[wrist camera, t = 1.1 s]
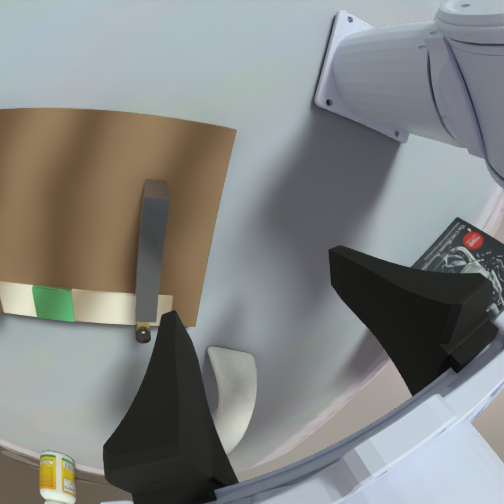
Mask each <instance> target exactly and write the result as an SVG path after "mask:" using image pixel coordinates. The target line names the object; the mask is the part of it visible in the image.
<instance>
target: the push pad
mask: <svg viewBox="0 0 504 504" xmlns="http://www.w3.org/2000/svg"><path fill="white" fill-rule="evenodd" d="M170 201H171V198H170V194H169V190H168V185H167V181H161V180H152V179H145V186H144V193H143V201H142V209H141V217H140V227H139V237H138V248H137V261H136V277H135V322H137V323H136V325H135V327H136V340H137V341H138V342H139V343H148V342H149V341H150V340H151V335H150V322H154V323H156V320H157V307H158V296H159V286H160V276H161V267H162V258H163V250H164V242H165V235H166V228H167V221H168V214H169V208H170Z"/></svg>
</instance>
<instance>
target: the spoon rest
mask: <svg viewBox="0 0 504 504" xmlns="http://www.w3.org/2000/svg"><path fill="white" fill-rule="evenodd" d="M207 352H208V355H209V358H210V361H211V364H212V367H213V370H214V373H215V377H216V381H217V386H218V395H219V399H218V409H217V414H216V417H215V420H214V425H215V428H216V430H217V433H218V436H219V438H220V441H221V443H222V446H223V448H224V450H225V453H226V454H228V453H229V452H230V451H231V450H232V449H233V448H234V447H235V446H236V445H237V444H238V443H239V442H240V440H241V439H242V437H243V435H244V433H245V431H246V429H247V427H248V424H249V422H250V419H251V416H252V413H253V409H254V405H255V400H256V393H257V369H256V364H255V360H254V357H253V356H252V355H251V354H249V353H246V352H241V351H235V350H231V349H226V348H221V347H209V348H208V349H207Z"/></svg>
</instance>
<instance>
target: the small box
mask: <svg viewBox="0 0 504 504" xmlns="http://www.w3.org/2000/svg"><path fill="white" fill-rule="evenodd" d="M411 268H415V269H420V270H426V271H434V272H443V273H481V274H482V275H484V276H485V277H486V278H488V279H489V280H490V281H492V282H493V293H492V296H491V299H490V302H489V304H488V307H487V310H486V312H487V313H488V314H489V315H490V319H489V320H490V321H491V322H492V323H493V322H494V320H495V319H496V318H497V317H498V315H499V314H500V313H501V312H502V311H503V310H504V244H503V243H501V242H499V241H498V240H496V239H495V238H493V237H491V236H490V235H488V234H486V233H485V232H483V231H481V230H479V229H478V228H476V227H474V226H473V225H471V224H469V223H467V222H466V221H464V220H462V219H460V218H459V217H457V218H456V219H455V220H454V222H453V223H452V224H451V225H450V226H449V227H448V228H447V230H446V231H445V232H444V233H443V234H442V235H441V236H440V237H439V239H438V240H437V241H436V242H435V243H434V244H433V245H432V246H431V247H430V248H429V249H428V250H427V251H426V253H425V254H424V255H423V256H422V257H421V258H420V259H419V260H418V261H417V262H416V263H415V264H414V265H413V266H412V267H411Z"/></svg>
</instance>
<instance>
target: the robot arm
mask: <svg viewBox="0 0 504 504" xmlns="http://www.w3.org/2000/svg"><path fill="white" fill-rule="evenodd" d="M347 18H349V19H350V22H349V21H348V20H347ZM434 20H435V21H424V22H414V23H405V24H397V25H390V26H383V27H377V28H373V27H372V26H370V25H368V24H367V23H365V22H363V21H362V20H360V19H358V18H357V17H355V16H353V15H351V14H349V13H348V12H346V11H339V12H337V14H336V17H335V21H334V25H333V29H332V33H331V37H330V41H329V45H328V49H327V53H326V57H325V61H324V65H323V68H322V72H321V76H320V80H319V84H318V87H317V91H316V95H315V104H316V105H317V106H318V107H321V108H323V109H326V110H329V111H331V112H334V113H336V114H339V115H341V116H344V117H346V118H349V119H351V120H353V121H356V122H358V123H360V124H362V125H365V126H367V127H369V128H371V129H374V130H376V131H378V132H380V133H382V134H384V135H386V136H388V137H390V138H393V139H395V140H397V141H399V142H401V143H406V142H407V140H408V136H409V133H410V134H414V135H418V136H422V137H426V138H429V139H433V140H436V141H440V142H443V143H446V144H450V145H453V146H456V147H460V148H467V149H468V152H469V154H471V155H474V156H477V157H480V158H483V159H485V161H486V165H487V168H488V171H489V172H490V174H491V176H492V178H493V179H494V180H495V181H496V183H498V184H499V185H500V186H501V187H502V188H503V189H504V0H445V1H444V2H443V3H442V4H441V5H440V7H439V10H438V12H437V13H436V15H435V18H434ZM327 100H329V102H330V104H329V105H328V106H327V104H326V101H327ZM395 131H396V134H395ZM329 262H330V275H331V285H332V286H333V288H334V289H335V291H336V292H337V294H338V295H339V296H340V298H341V299H342V300H343V302H344V303H345V304H346V305H347V306H348V307H349V308H350V309H351V310H352V311H353V312H354V313H355V315H356V316H357V317H358V318H359V319H360V320H361V321H362V322H363V323H364V324H365V325H366V326H367V327H368V328H369V329H370V331H371V332H372V333H373V334H374V335H375V337H376V338H377V339H378V341H379V342H380V344H381V345H382V346H383V348H384V349H385V351H386V352H387V354H388V355H389V357H390V358H391V360H392V361H393V363H394V364H395V366H396V368H397V369H398V371H399V373H400V374H401V376H402V378H403V379H404V381H405V383H406V385H407V387H408V389H409V391H410V393H411V394H412V397H411V398H410V399H409V400H407V401H406V402H404V403H403V404H401V405H400V406H399V407H397V408H395V409H394V410H392V411H391V412H389V413H388V414H386V415H384V416H383V417H382V418H380V419H378V420H376V421H375V422H373V423H372V424H370V425H368V426H366V427H365V428H363V429H361V430H360V431H358V432H356V433H354V434H352V435H351V436H349V437H347V438H345V439H343V440H341V441H339V442H337V443H335V444H334V445H331V446H330V447H327V448H326V449H323V450H321V451H319V452H317V453H315V454H313V455H311V456H308V457H306V458H304V459H302V460H299V461H297V462H295V463H292V464H290V465H287V466H285V467H282V468H280V469H277V470H275V471H272V472H269V473H267V474H264V475H261V476H258V477H255V478H252V479H250V480H247V481H243V482H240V483H239V482H238V480H237V477H236V475H235V473H234V471H233V469H232V467H231V464H230V462H229V460H228V457H227V455H226V453H225V450H224V448H223V446H222V443H221V441H220V438H219V436H218V433H217V430H216V428H215V425H214V422H213V419H212V417H211V414H210V411H209V407H208V404H207V399H206V395H205V390H204V386H203V381H202V376H201V371H200V366H199V362H198V358H197V355H196V352H195V349H194V346H193V343H192V340H191V338H190V336H189V335H188V333H187V331H186V329H185V327H184V325H183V323H182V321H181V320H180V318H179V316H178V314H177V312H176V310H173V311H170V312H167V313H165V314H162V316H161V319H160V324H159V329H158V333H157V337H156V341H155V345H154V349H153V352H152V356H151V359H150V362H149V365H148V368H147V371H146V374H145V376H144V379H143V381H142V384H141V386H140V388H139V391H138V393H137V395H136V397H135V399H134V401H133V403H132V405H131V407H130V408H129V410H128V412H127V413H126V415H125V417H124V418H123V420H122V421H121V423H120V424H119V426H118V427H117V429H116V430H115V431H114V433H113V434H112V435H111V437H110V438H109V439H108V440H107V442H106V443H105V444H104V445H103V462H104V473H105V479H106V480H107V481H108V482H109V483H110V484H112V485H114V486H116V487H118V488H120V489H122V490H125V491H127V492H129V493H132V497H133V501H132V500H118V501H105V502H101V504H504V463H503V462H502V461H501V460H500V458H499V457H498V456H497V454H496V453H495V452H494V451H493V450H492V448H491V447H490V446H489V445H488V443H487V442H486V441H485V440H484V439H483V437H482V436H481V435H480V434H479V433H478V431H477V430H476V429H475V428H474V427H473V425H472V424H471V422H472V421H473V420H474V419H475V418H476V417H477V416H478V415H479V414H480V413H481V412H482V411H483V410H484V409H485V408H486V407H487V406H488V405H489V404H490V403H491V401H492V400H493V399H494V398H495V397H496V396H497V395H498V394H499V392H500V391H501V390H502V389H503V388H504V310H503V311H502V312H501V313H500V314H499V315H498V317H497V318H496V319H495V320H494V322H493V323H492V322H491V321H490V320H489V319H490V315H489V314H488V313H487V312H486V310H487V307H488V304H489V302H490V299H491V296H492V293H493V282H492V281H490V280H489V279H488V278H486V277H485V276H484V275H482V274H481V273H443V272H434V271H426V270H420V269H415V268H410V267H406V266H402V265H398V264H395V263H391V262H388V261H385V260H382V259H379V258H376V257H373V256H370V255H367V254H364V253H361V252H359V251H356V250H353V249H350V248H347V247H344V246H341V245H339V246H337V247H334V248H332V249H329ZM294 484H295V485H294ZM292 485H293V486H292Z"/></svg>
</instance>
